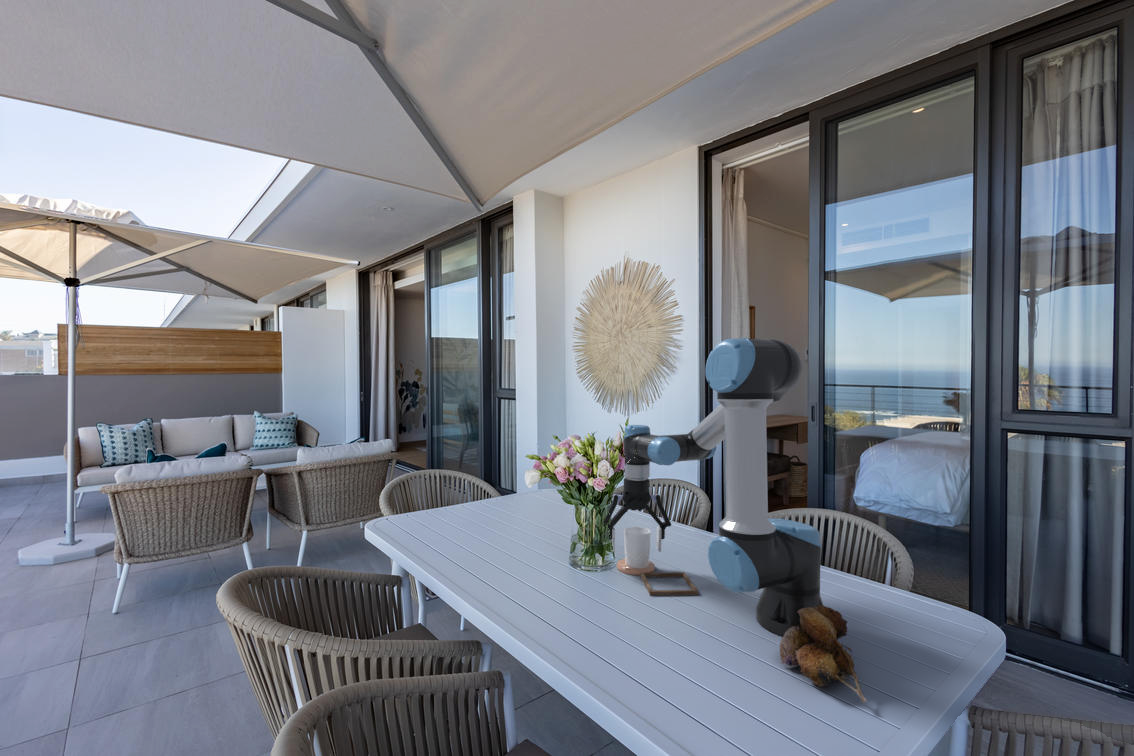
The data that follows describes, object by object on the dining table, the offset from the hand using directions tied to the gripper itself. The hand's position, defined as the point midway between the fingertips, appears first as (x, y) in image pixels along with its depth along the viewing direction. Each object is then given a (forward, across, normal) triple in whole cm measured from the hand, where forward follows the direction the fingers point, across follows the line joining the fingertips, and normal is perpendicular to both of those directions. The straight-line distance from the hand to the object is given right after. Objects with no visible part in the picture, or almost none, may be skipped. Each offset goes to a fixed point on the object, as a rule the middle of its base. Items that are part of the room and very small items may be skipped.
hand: (635, 550), depth 150 cm
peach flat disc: (+5, 0, 0) cm, 5 cm away
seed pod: (+6, -26, +54) cm, 60 cm away
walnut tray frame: (+5, -6, +12) cm, 15 cm away
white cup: (+4, 0, 0) cm, 4 cm away
